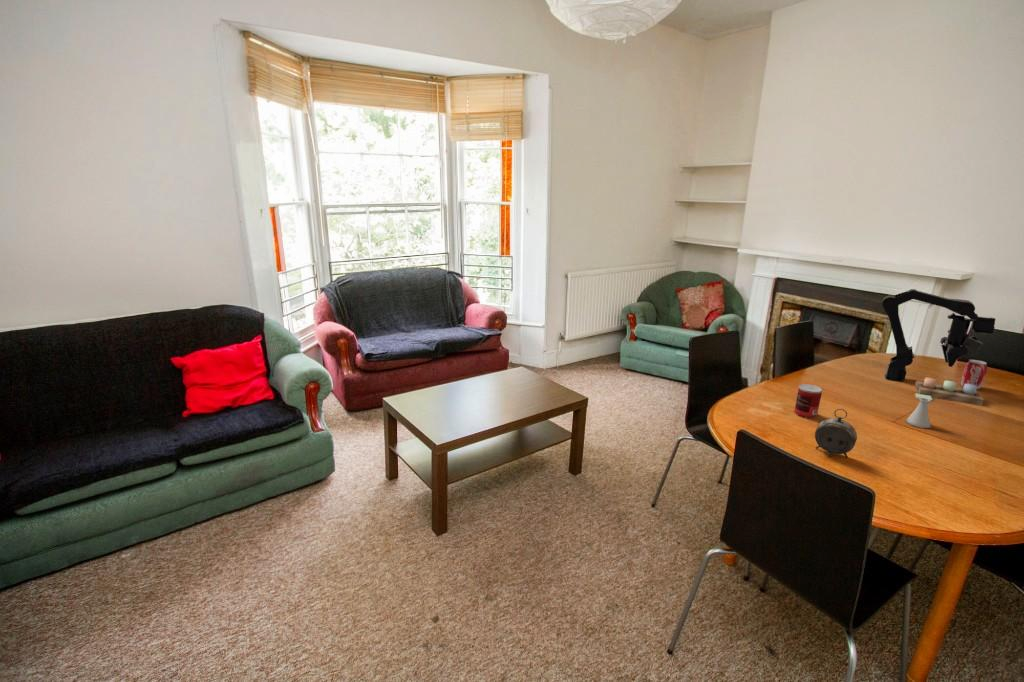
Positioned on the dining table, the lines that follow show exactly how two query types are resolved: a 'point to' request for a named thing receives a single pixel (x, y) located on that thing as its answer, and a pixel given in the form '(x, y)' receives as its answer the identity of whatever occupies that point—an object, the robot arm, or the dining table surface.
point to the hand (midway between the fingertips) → (948, 364)
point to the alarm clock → (835, 435)
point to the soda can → (974, 373)
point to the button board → (949, 394)
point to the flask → (920, 415)
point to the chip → (923, 396)
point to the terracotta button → (929, 383)
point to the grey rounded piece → (969, 389)
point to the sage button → (949, 386)
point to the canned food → (808, 400)
